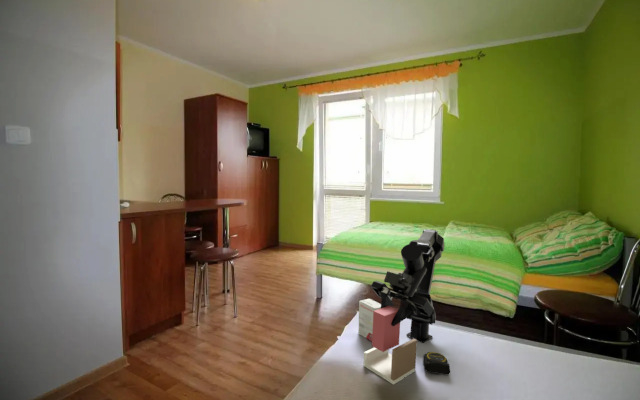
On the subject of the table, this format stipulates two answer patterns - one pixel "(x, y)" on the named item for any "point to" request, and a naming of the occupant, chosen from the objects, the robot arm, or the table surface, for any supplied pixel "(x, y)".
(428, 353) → the tape measure
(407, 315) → the robot arm
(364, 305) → the ink box
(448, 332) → the table surface
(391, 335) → the book
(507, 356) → the table surface
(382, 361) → the book rack
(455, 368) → the table surface
